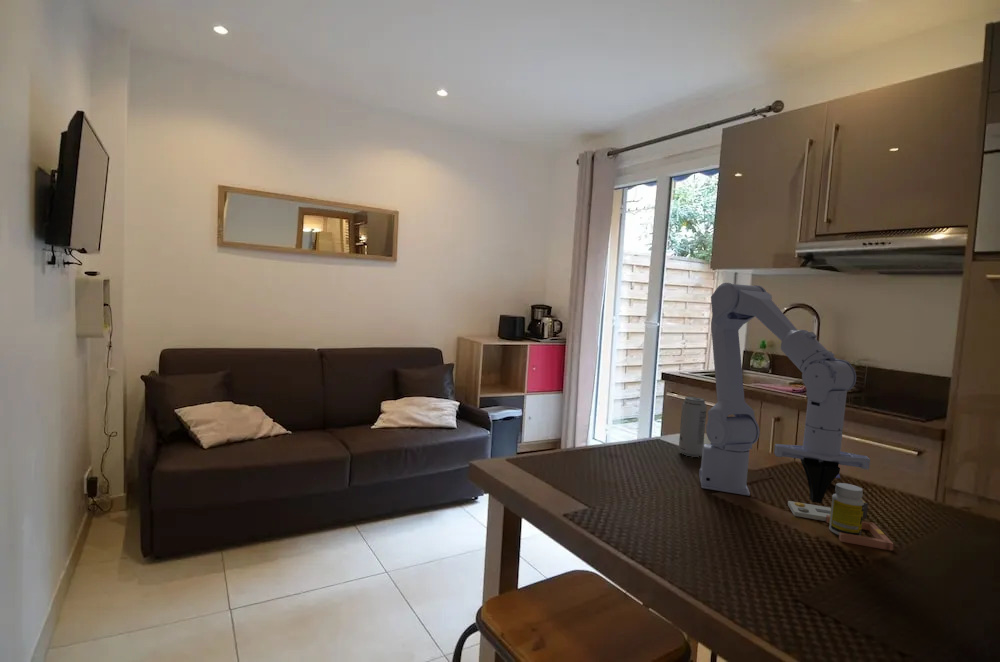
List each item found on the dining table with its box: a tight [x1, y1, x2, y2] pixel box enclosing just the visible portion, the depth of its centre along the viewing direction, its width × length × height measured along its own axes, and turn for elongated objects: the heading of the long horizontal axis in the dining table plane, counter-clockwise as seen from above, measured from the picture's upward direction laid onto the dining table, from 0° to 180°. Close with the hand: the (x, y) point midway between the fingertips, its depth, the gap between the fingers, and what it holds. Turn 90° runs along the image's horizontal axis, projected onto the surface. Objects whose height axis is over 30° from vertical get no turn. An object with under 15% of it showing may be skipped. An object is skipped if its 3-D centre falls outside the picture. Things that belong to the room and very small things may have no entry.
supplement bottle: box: [828, 482, 864, 536], centre depth 91 cm, size 5×5×8 cm
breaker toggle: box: [860, 497, 869, 520], centre depth 97 cm, size 3×3×3 cm
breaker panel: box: [787, 500, 864, 522], centre depth 99 cm, size 12×6×1 cm, turn 71°
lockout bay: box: [825, 515, 894, 552], centre depth 91 cm, size 8×9×1 cm
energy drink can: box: [678, 396, 708, 458], centre depth 135 cm, size 6×6×15 cm
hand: (815, 500), depth 93 cm, fingers closed
